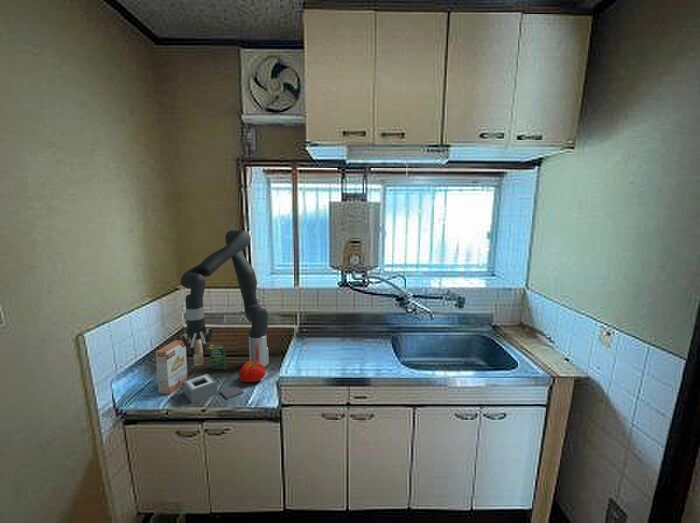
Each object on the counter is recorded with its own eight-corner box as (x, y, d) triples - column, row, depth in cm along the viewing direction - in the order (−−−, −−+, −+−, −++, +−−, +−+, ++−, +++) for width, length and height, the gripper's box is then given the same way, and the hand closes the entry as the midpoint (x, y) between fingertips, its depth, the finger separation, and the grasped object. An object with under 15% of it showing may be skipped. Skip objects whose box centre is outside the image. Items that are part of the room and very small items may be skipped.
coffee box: (209, 369, 177) (208, 346, 175) (211, 366, 180) (210, 344, 178) (224, 369, 177) (223, 346, 175) (226, 367, 180) (225, 344, 177)
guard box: (207, 384, 161) (207, 373, 161) (217, 394, 154) (216, 382, 153) (183, 393, 154) (183, 381, 153) (192, 403, 146) (191, 390, 145)
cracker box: (170, 395, 152) (166, 352, 149) (158, 394, 153) (154, 351, 150) (188, 379, 166) (186, 340, 163) (177, 378, 167) (174, 339, 164)
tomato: (258, 388, 159) (257, 371, 157) (234, 385, 161) (233, 368, 160) (270, 374, 172) (270, 358, 171) (248, 372, 175) (248, 356, 173)
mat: (236, 386, 160) (236, 384, 160) (243, 392, 155) (243, 391, 155) (219, 392, 155) (219, 390, 155) (227, 399, 149) (227, 397, 149)
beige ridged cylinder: (201, 360, 154) (199, 336, 152) (204, 363, 152) (203, 339, 150) (192, 363, 152) (190, 338, 150) (195, 366, 149) (194, 341, 147)
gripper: (208, 311, 155) (210, 346, 158) (175, 318, 146) (178, 355, 149) (214, 315, 150) (216, 351, 153) (181, 322, 140) (184, 360, 143)
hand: (198, 352), depth 151 cm, fingers closed on beige ridged cylinder, 4 cm apart
